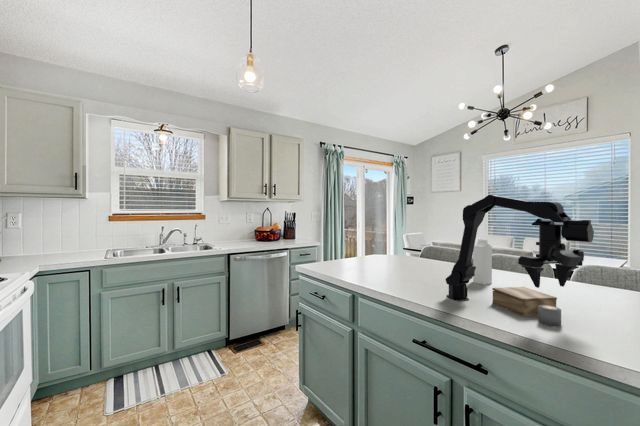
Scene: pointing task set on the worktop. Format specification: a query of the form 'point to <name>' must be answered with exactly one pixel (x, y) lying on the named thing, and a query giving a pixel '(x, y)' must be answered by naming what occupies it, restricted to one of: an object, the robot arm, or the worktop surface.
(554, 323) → the grey rounded block
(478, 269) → the milk
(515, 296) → the lid
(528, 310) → the box
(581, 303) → the worktop surface
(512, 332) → the worktop surface
